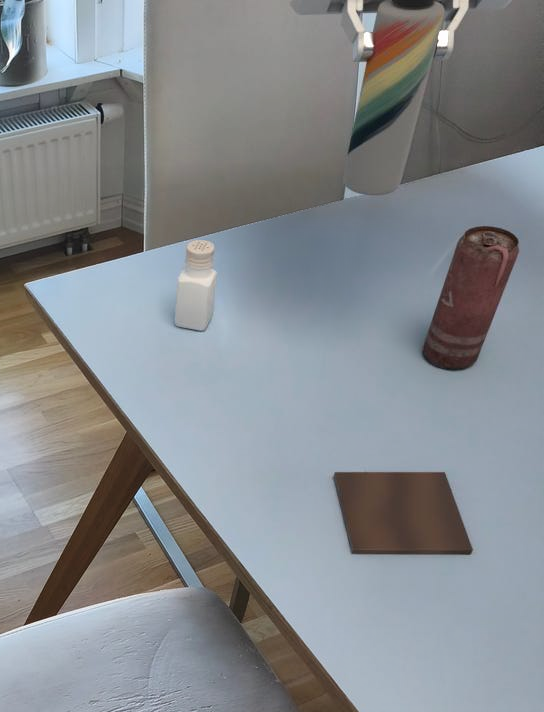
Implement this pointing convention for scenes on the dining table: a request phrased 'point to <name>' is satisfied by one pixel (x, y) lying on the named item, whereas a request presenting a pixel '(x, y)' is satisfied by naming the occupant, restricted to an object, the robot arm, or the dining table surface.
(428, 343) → the can
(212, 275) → the salt shaker
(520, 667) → the dining table surface
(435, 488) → the walnut board
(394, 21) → the lotion bottle
